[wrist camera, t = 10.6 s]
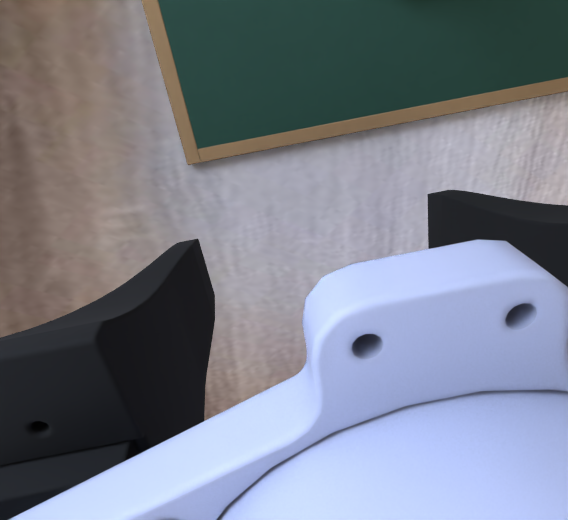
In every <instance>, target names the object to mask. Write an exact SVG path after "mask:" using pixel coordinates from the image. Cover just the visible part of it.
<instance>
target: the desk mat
mask: <svg viewBox="0 0 568 520" xmlns="http://www.w3.org/2000/svg"><path fill="white" fill-rule="evenodd" d="M142 4H143V8H144V11H145V15H146V18H147V22H148V25H149V29H150V32H151V36H152V40H153V43H154V47H155V50H156V54H157V57H158V61H159V64H160V68H161V72H162V75H163V79H164V82H165V86H166V89H167V93H168V96H169V100H170V104H171V107H172V111H173V114H174V118H175V121H176V125H177V128H178V132H179V136H180V139H181V143H182V146H183V150H184V153H185V157H186V160H187V164H188V165H191V164H196V163H201V162H206V161H212V160H217V159H222V158H227V157H232V156H237V155H242V154H248V153H253V152H258V151H263V150H268V149H273V148H278V147H284V146H289V145H294V144H299V143H304V142H309V141H314V140H320V139H325V138H330V137H335V136H340V135H345V134H350V133H356V132H361V131H366V130H371V129H376V128H381V127H386V126H392V125H397V124H402V123H407V122H412V121H417V120H422V119H428V118H433V117H438V116H443V115H448V114H453V113H458V112H464V111H469V110H474V109H479V108H484V107H489V106H494V105H499V104H505V103H510V102H515V101H520V100H525V99H530V98H535V97H541V96H546V95H551V94H556V93H561V92H566V91H568V0H142Z"/></svg>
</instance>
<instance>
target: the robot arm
mask: <svg viewBox="0 0 568 520" xmlns="http://www.w3.org/2000/svg"><path fill="white" fill-rule="evenodd" d="M428 240H429V249H426V250H421V251H416V252H411V253H405V254H400V255H395V256H390V257H385V258H380V259H375V260H369V261H364V262H359V263H354V264H350V265H348V266H346V267H343V268H341V269H339V270H337V271H334V272H332V273H330V274H328V275H325V276H323V277H322V279H321V280H320V281H319V282H318V283H317V285H316V286H315V287H314V288H313V290H312V291H311V292H310V293H309V294H308V296H307V297H306V298H305V305H304V313H303V320H302V324H303V330H304V335H305V340H306V346H307V360H306V363H305V366H304V367H303V369H302V370H301V371H300V372H299V373H298V374H297V375H295V376H293V377H291V378H289V379H287V380H285V381H283V382H281V383H279V384H277V385H275V386H273V387H271V388H269V389H267V390H265V391H263V392H261V393H259V394H257V395H255V396H253V397H251V398H250V399H248V400H246V401H244V402H242V403H240V404H238V405H236V406H234V407H232V408H230V409H228V410H226V411H224V412H222V413H220V414H218V415H216V416H214V417H212V418H210V419H208V420H206V421H204V407H205V383H206V374H207V367H208V361H209V355H210V348H211V342H212V335H213V329H214V321H215V294H214V291H213V288H212V284H211V281H210V277H209V274H208V271H207V267H206V264H205V260H204V257H203V254H202V250H201V247H200V243H199V240H198V239H194V240H189V241H184V242H179V243H177V244H175V245H173V246H172V247H171V248H169V249H168V250H167V251H166V252H164V253H163V254H162V255H161V256H160V257H158V258H157V259H156V260H155V261H153V262H152V263H151V264H150V265H149V266H147V267H146V268H145V269H143V270H142V271H141V272H139V273H138V274H137V275H135V276H134V277H133V278H131V279H130V280H129V281H127V282H126V283H124V284H123V285H121V286H120V287H118V288H117V289H115V290H114V291H112V292H110V293H109V294H107V295H105V296H103V297H102V298H100V299H98V300H96V301H94V302H92V303H90V304H88V305H86V306H84V307H82V308H80V309H78V310H76V311H74V312H72V313H69V314H67V315H65V316H62V317H60V318H57V319H55V320H53V321H50V322H47V323H45V324H42V325H39V326H36V327H34V328H31V329H28V330H25V331H22V332H18V333H15V334H12V335H8V336H5V337H2V338H0V520H568V206H566V205H552V204H542V203H534V202H527V201H519V200H513V199H507V198H501V197H495V196H490V195H484V194H479V193H473V192H467V191H458V190H446V191H441V192H436V193H431V194H428Z"/></svg>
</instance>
